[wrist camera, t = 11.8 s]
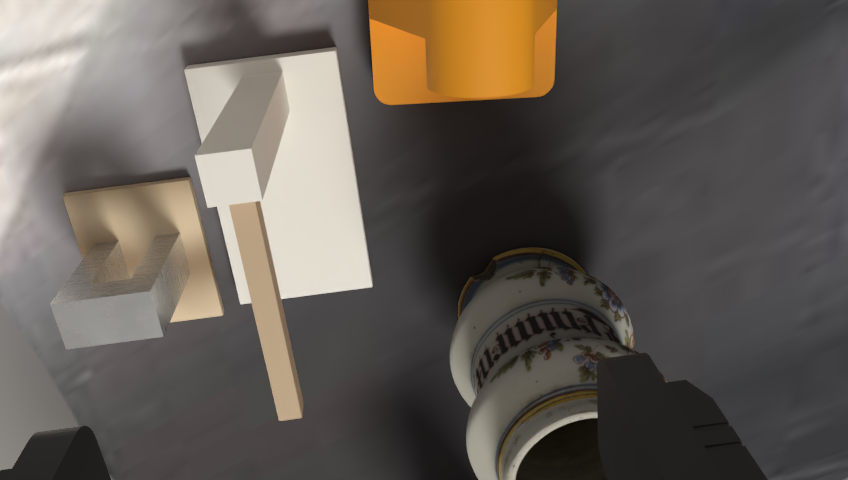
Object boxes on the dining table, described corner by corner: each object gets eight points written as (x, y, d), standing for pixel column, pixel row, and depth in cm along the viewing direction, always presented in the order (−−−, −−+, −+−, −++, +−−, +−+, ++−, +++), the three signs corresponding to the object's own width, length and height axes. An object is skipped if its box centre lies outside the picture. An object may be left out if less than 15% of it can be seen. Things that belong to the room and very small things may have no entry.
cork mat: (65, 192, 50) (62, 196, 49) (190, 176, 50) (188, 179, 49) (109, 326, 54) (106, 330, 54) (224, 311, 54) (222, 315, 54)
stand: (188, 65, 47) (111, 147, 33) (336, 46, 47) (325, 120, 33) (242, 295, 54) (199, 448, 39) (372, 278, 54) (376, 424, 40)
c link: (94, 243, 51) (49, 304, 44) (180, 232, 51) (150, 291, 44) (107, 284, 52) (66, 349, 45) (190, 273, 52) (163, 336, 45)
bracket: (374, 94, 49) (378, 156, 38) (366, -27, 46) (368, 1, 35) (544, 85, 49) (596, 143, 38) (547, -36, 46) (605, -10, 35)
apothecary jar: (522, 198, 52) (595, 342, 36) (642, 295, 56) (756, 465, 40) (406, 321, 56) (426, 503, 39) (527, 405, 60) (590, 602, 43)
